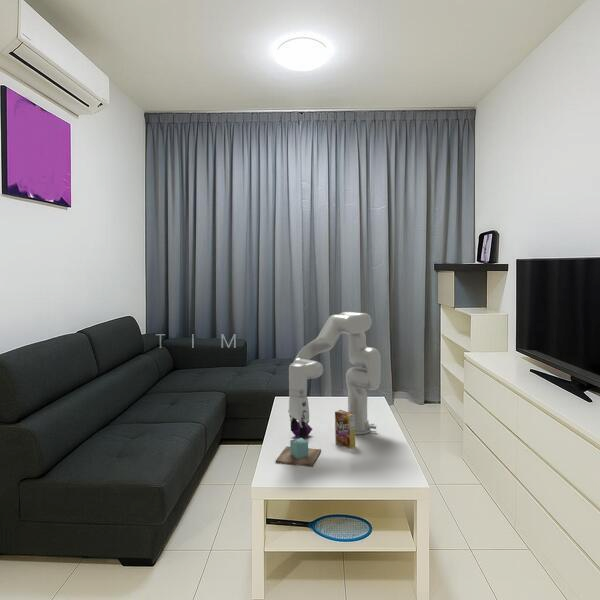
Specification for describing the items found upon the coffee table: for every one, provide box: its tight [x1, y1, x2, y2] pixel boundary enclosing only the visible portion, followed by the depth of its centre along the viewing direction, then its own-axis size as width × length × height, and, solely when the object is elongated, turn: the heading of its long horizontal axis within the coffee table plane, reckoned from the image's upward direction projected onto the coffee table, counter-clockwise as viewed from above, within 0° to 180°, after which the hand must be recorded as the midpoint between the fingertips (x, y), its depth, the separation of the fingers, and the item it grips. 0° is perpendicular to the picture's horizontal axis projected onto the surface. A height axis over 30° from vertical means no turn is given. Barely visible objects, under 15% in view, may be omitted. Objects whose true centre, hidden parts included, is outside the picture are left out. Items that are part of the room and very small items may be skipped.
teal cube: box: [289, 437, 309, 458], centre depth 197 cm, size 6×6×6 cm
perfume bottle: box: [291, 418, 313, 439], centre depth 221 cm, size 8×8×18 cm
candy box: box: [334, 409, 356, 449], centre depth 210 cm, size 9×4×15 cm, turn 45°
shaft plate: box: [274, 445, 322, 468], centre depth 197 cm, size 16×16×4 cm
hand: (298, 432), depth 197 cm, fingers open, 6 cm apart
